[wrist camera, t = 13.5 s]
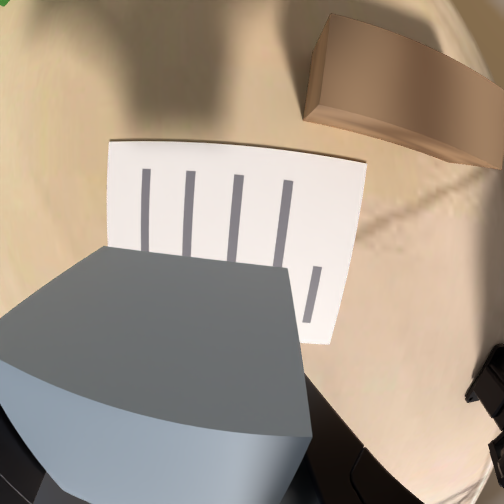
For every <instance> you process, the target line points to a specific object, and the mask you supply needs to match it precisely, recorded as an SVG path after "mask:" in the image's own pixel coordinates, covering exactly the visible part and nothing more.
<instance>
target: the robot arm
mask: <svg viewBox="0 0 504 504" xmlns="http://www.w3.org/2000/svg"><path fill="white" fill-rule="evenodd" d="M304 376H305V383H306V390H307V398H308V405H309V413H310V421H311V429H312V439H311V441H310V444H309V446H308V448H307V450H306V452H305V455H304V457H303V459H302V461H301V463H300V465H299V467H298V469H297V471H296V473H295V475H294V477H293V479H292V481H291V483H290V485H289V487H288V489H287V491H286V493H285V494H284V496H283V498H282V500H281V502H280V504H424V503H423V502H422V501H421V500H419V499H418V498H417V497H416V496H415V495H413V494H412V493H411V492H410V491H409V490H408V489H406V488H405V487H404V486H403V485H402V484H401V483H400V482H399V481H397V480H396V479H395V478H394V477H393V476H392V475H391V474H390V473H389V472H388V471H387V470H386V469H385V468H384V467H383V466H382V465H381V464H380V463H379V462H378V460H377V459H376V458H375V457H374V456H373V455H372V454H371V453H370V451H369V450H368V449H367V448H366V447H364V445H363V443H362V442H361V441H360V440H359V439H358V438H357V436H356V435H355V434H354V433H353V432H352V430H351V429H350V428H349V427H348V426H347V424H346V423H345V422H344V421H343V420H342V419H341V417H340V416H339V415H338V414H337V412H336V411H335V410H334V409H333V408H332V406H331V405H330V404H329V403H328V402H327V400H326V399H325V398H324V397H323V395H322V394H321V393H320V392H319V391H318V389H317V388H316V387H315V386H314V384H313V383H312V382H311V381H310V379H309V378H308V377H307V376H306V374H305V373H304ZM465 400H466V402H467V403H470V402H474V401H478V400H480V402H481V403H482V405H483V406H484V408H485V409H486V411H487V412H488V414H489V415H490V417H491V418H493V419H494V421H495V422H496V424H497V425H498V427H499V429H500V430H501V431H502V432H501V433H500V434H499V435H498V436H497V437H496V438H495V439H494V440H492V441H491V442H490V443H489V444H488V446H489V450H490V455H491V458H492V462H493V465H494V468H495V472H496V476H497V479H498V483H499V485H500V486H501V487H503V488H504V344H498V345H496V346H495V347H494V348H493V350H492V352H491V354H490V356H489V358H488V360H487V361H486V363H485V365H484V367H483V369H482V371H481V372H480V374H479V376H478V378H477V379H476V381H475V383H474V385H473V386H472V388H471V390H470V391H469V393H468V394H467V396H466V398H465ZM363 447H364V448H363ZM45 473H46V470H45V469H44V467H43V466H42V465H41V464H40V462H39V461H38V460H37V459H36V457H35V456H34V455H33V453H32V452H31V450H30V449H29V448H28V446H27V445H26V444H25V442H24V441H23V439H22V438H21V436H20V435H19V433H18V432H17V430H16V429H15V427H14V426H13V424H12V423H11V421H10V419H9V418H8V416H7V414H6V413H5V411H4V409H3V408H2V406H1V404H0V504H33V502H34V500H35V497H36V495H37V492H38V490H39V487H40V485H41V483H42V480H43V478H44V475H45Z"/></svg>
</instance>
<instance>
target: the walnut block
mask: <svg viewBox="0 0 504 504" xmlns="http://www.w3.org/2000/svg"><path fill="white" fill-rule="evenodd" d="M303 121H307V122H312V123H317V124H322V125H326V126H331V127H335V128H340V129H344V130H348V131H352V132H356V133H360V134H363V135H367V136H371V137H374V138H378V139H381V140H385V141H388V142H391V143H395V144H398V145H401V146H404V147H407V148H410V149H413V150H416V151H419V152H422V153H425V154H428V155H430V156H433V157H436V158H438V159H441V160H444V161H446V162H449V163H458V164H466V165H473V166H480V167H487V168H493V169H499V170H502V164H503V156H504V89H502V88H501V87H499V86H498V85H496V84H495V83H493V82H492V81H490V80H489V79H487V78H486V77H484V76H482V75H481V74H479V73H477V72H476V71H474V70H472V69H471V68H469V67H467V66H465V65H464V64H462V63H460V62H458V61H456V60H454V59H452V58H451V57H449V56H447V55H445V54H443V53H441V52H439V51H437V50H434V49H432V48H430V47H428V46H426V45H424V44H421V43H419V42H417V41H414V40H412V39H410V38H407V37H405V36H402V35H400V34H397V33H394V32H392V31H389V30H386V29H383V28H380V27H377V26H374V25H371V24H368V23H365V22H362V21H358V20H355V19H351V18H348V17H344V16H340V15H336V14H332V13H331V14H330V16H329V18H328V20H327V22H326V24H325V26H324V29H323V31H322V33H321V35H320V37H319V39H318V41H317V44H316V46H315V48H314V50H313V53H312V61H311V68H310V75H309V82H308V89H307V96H306V102H305V109H304V115H303Z"/></svg>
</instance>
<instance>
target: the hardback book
mask: <svg viewBox="0 0 504 504" xmlns="http://www.w3.org/2000/svg"><path fill="white" fill-rule="evenodd" d="M9 1H10V0H0V5H1V6H5V5H6V4H7V3H8V2H9Z"/></svg>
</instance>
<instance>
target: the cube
mask: <svg viewBox="0 0 504 504" xmlns="http://www.w3.org/2000/svg"><path fill="white" fill-rule="evenodd" d="M0 404H1V406H2V408H3V409H4V411H5V413H6V414H7V416H8V418H9V419H10V421H11V423H12V424H13V426H14V427H15V429H16V430H17V432H18V433H19V435H20V436H21V438H22V439H23V441H24V442H25V444H26V445H27V446H28V448H29V449H30V450H31V452H32V453H33V455H34V456H35V457H36V459H37V460H38V461H39V462H40V464H41V465H42V466H43V467H44V469H45V470H46V471H47V472H48V473H49V475H50V476H51V477H52V478H53V479H54V481H55V482H56V483H57V484H58V485H59V486H60V487H61V489H62V490H64V491H66V492H68V493H70V494H72V495H74V496H76V497H78V498H80V499H83V500H85V501H87V502H90V503H92V504H280V502H281V500H282V498H283V496H284V494H285V493H286V491H287V489H288V487H289V485H290V483H291V481H292V479H293V477H294V475H295V473H296V471H297V469H298V467H299V465H300V463H301V461H302V459H303V457H304V455H305V452H306V450H307V448H308V446H309V444H310V441H311V439H312V429H311V421H310V413H309V405H308V398H307V390H306V383H305V376H304V369H303V362H302V355H301V348H300V341H299V335H298V328H297V322H296V315H295V309H294V303H293V297H292V291H291V285H290V279H289V273H288V268H283V267H274V266H265V265H256V264H247V263H239V262H230V261H221V260H213V259H204V258H196V257H188V256H179V255H171V254H163V253H155V252H147V251H139V250H131V249H123V248H115V247H108V246H103V247H102V248H100V249H98V250H97V251H95V252H94V253H92V254H91V255H89V256H87V257H86V258H84V259H83V260H81V261H80V262H78V263H77V264H75V265H74V266H72V267H71V268H69V269H68V270H66V271H65V272H63V273H62V274H60V275H59V276H57V277H56V278H54V279H53V280H52V281H50V282H49V283H47V284H46V285H44V286H43V287H42V288H40V289H39V290H37V291H36V292H35V293H33V294H32V295H31V296H29V297H28V298H26V299H25V300H24V301H22V302H21V303H20V304H18V305H17V306H16V307H14V308H13V309H12V310H10V311H9V312H8V313H7V314H5V315H4V316H3V317H1V318H0Z"/></svg>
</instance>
